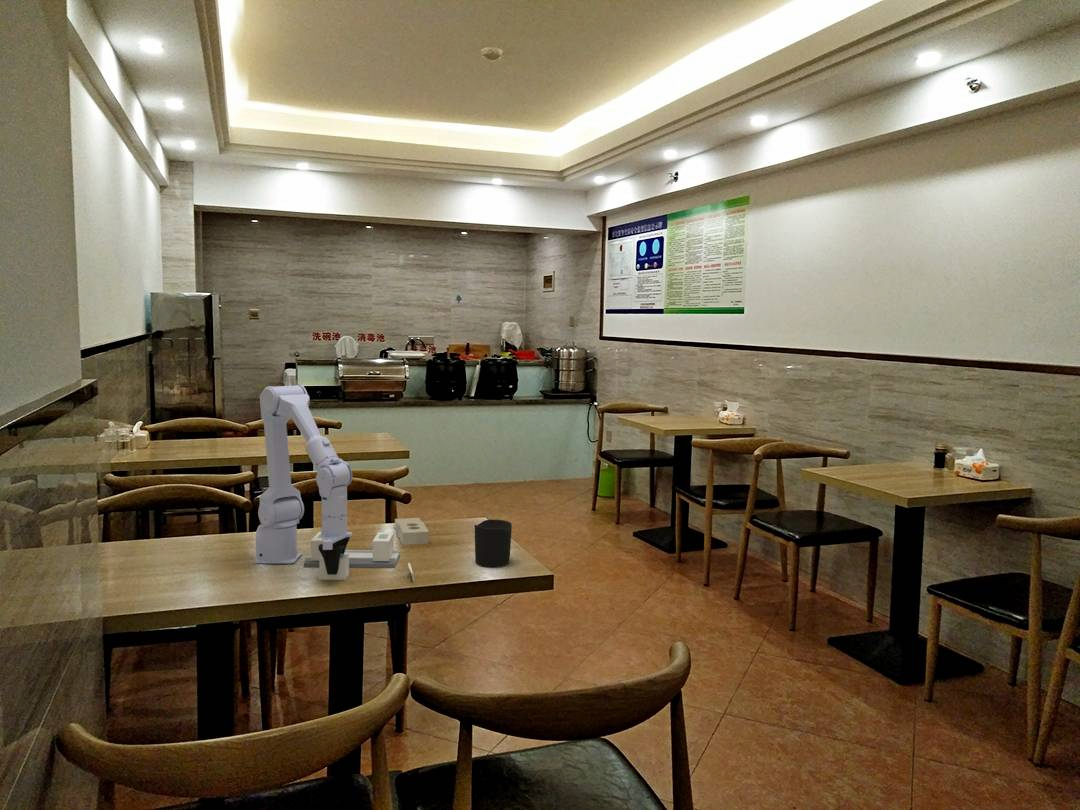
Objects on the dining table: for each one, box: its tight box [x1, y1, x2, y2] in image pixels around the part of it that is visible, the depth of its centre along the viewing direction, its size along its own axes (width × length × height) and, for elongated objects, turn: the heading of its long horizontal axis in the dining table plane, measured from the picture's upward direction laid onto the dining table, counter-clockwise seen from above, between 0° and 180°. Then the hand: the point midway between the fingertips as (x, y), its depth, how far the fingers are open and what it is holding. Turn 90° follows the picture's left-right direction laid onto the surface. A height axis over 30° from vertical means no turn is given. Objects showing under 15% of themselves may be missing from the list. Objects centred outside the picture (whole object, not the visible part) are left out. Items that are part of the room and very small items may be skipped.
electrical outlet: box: [394, 517, 430, 546], centre depth 212 cm, size 7×4×18 cm
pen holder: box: [474, 519, 513, 568], centre depth 189 cm, size 9×9×10 cm
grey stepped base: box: [303, 531, 401, 569], centre depth 188 cm, size 22×10×7 cm, turn 93°
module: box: [319, 554, 350, 581], centre depth 176 cm, size 6×4×5 cm, turn 93°
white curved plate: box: [403, 562, 415, 583], centre depth 177 cm, size 4×8×3 cm, turn 15°
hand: (334, 571), depth 176 cm, fingers closed on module, 4 cm apart
